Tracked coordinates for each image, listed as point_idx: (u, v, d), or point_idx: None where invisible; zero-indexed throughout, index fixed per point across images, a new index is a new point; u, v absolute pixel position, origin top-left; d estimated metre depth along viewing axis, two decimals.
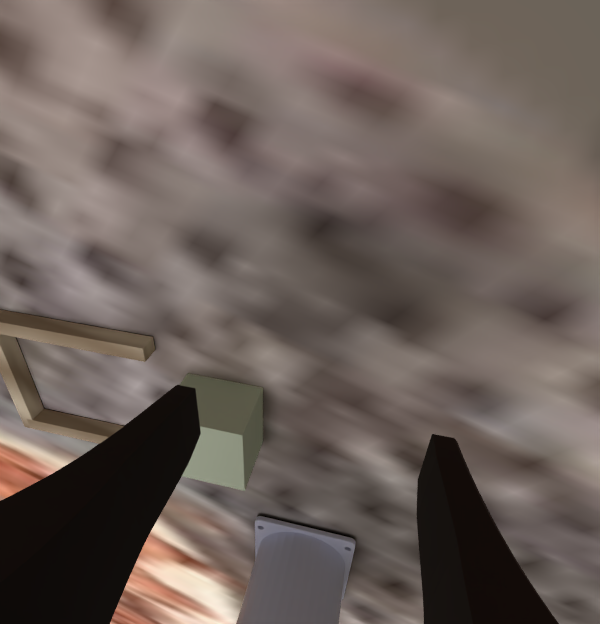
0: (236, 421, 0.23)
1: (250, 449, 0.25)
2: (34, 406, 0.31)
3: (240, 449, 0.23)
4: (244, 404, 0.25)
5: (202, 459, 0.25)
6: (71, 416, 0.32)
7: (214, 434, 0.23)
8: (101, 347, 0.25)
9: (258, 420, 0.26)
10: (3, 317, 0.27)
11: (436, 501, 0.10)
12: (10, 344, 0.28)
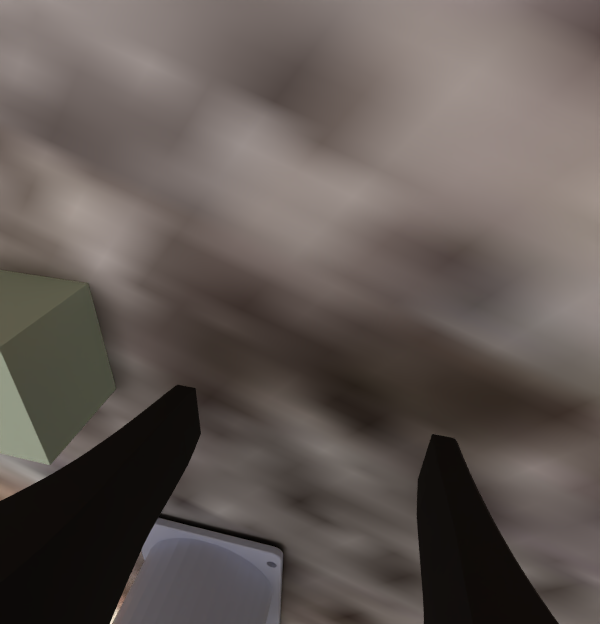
0: (2, 327, 0.12)
1: (57, 389, 0.14)
2: None
3: (10, 381, 0.12)
4: (38, 304, 0.13)
5: None
6: None
7: None
8: None
9: (83, 342, 0.15)
10: None
11: (436, 501, 0.10)
12: None
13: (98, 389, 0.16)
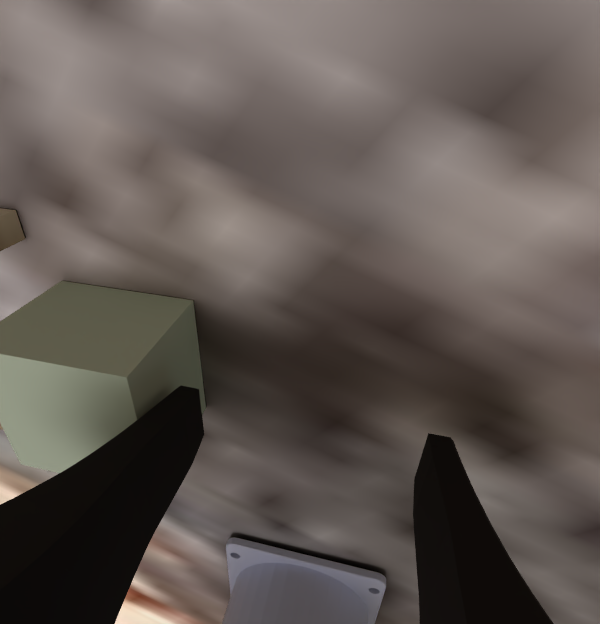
0: (121, 354, 0.11)
1: None
2: None
3: (131, 411, 0.11)
4: (149, 326, 0.13)
5: (67, 436, 0.13)
6: None
7: (74, 380, 0.11)
8: None
9: (184, 364, 0.14)
10: None
11: (432, 500, 0.10)
12: None
13: None
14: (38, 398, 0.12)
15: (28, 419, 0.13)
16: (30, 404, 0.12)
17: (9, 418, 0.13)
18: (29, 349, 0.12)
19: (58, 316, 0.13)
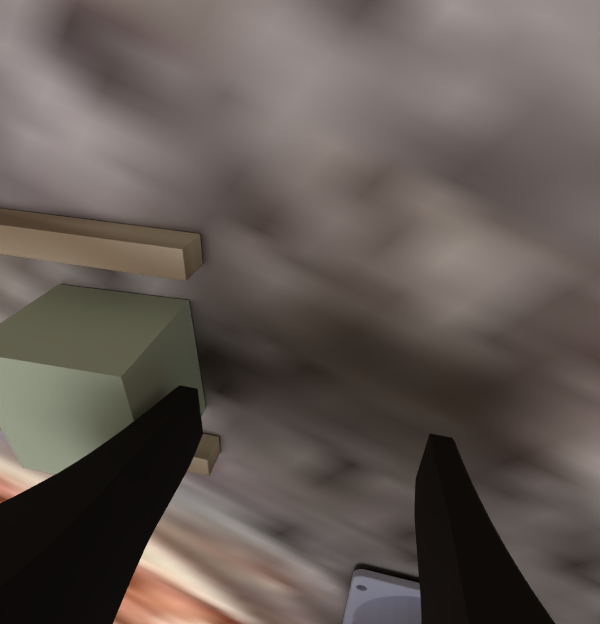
0: (116, 354, 0.12)
1: None
2: None
3: (127, 411, 0.11)
4: (144, 326, 0.13)
5: (66, 437, 0.13)
6: None
7: (70, 380, 0.11)
8: (95, 253, 0.12)
9: (182, 364, 0.14)
10: None
11: (434, 501, 0.10)
12: None
13: None
14: (36, 399, 0.12)
15: (27, 422, 0.13)
16: (27, 406, 0.12)
17: (8, 421, 0.13)
18: (25, 351, 0.12)
19: (55, 319, 0.13)
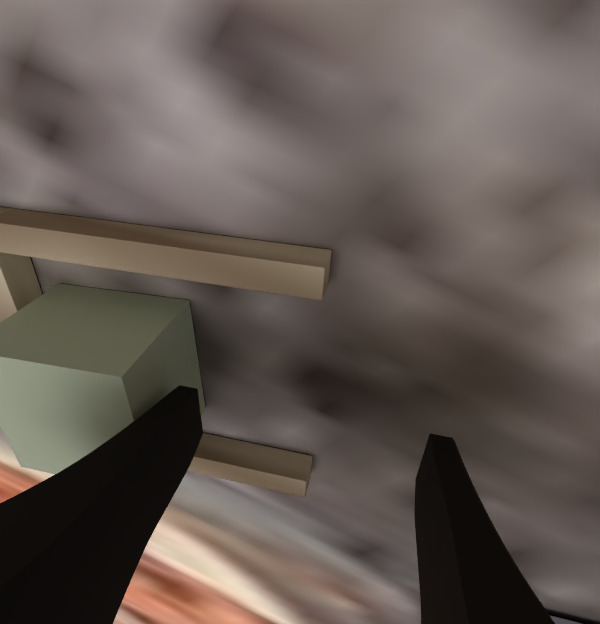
0: (117, 354, 0.12)
1: None
2: None
3: (127, 411, 0.11)
4: (145, 326, 0.13)
5: (65, 437, 0.13)
6: None
7: (70, 380, 0.11)
8: (224, 270, 0.12)
9: (182, 364, 0.14)
10: (11, 217, 0.13)
11: (434, 501, 0.10)
12: (24, 280, 0.14)
13: None
14: (36, 399, 0.12)
15: (27, 421, 0.13)
16: (27, 405, 0.12)
17: (8, 420, 0.13)
18: (25, 351, 0.12)
19: (55, 318, 0.13)
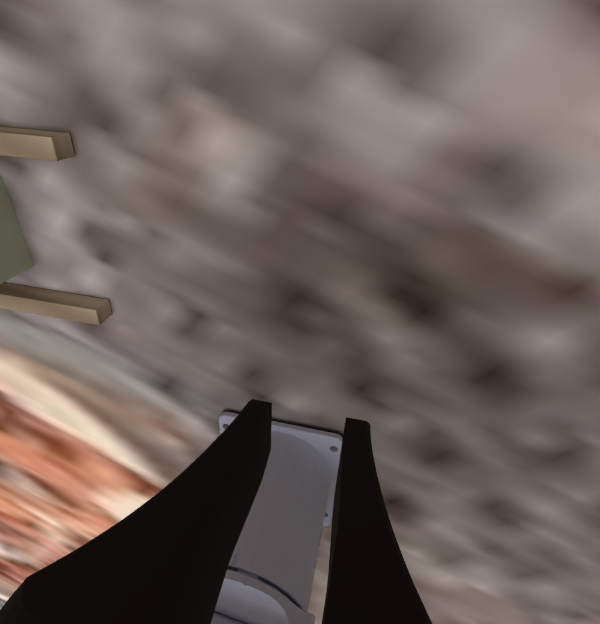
0: None
1: None
2: None
3: None
4: None
5: None
6: None
7: None
8: None
9: None
10: None
11: (339, 480, 0.10)
12: None
13: (16, 259, 0.23)
14: None
15: None
16: None
17: None
18: None
19: None
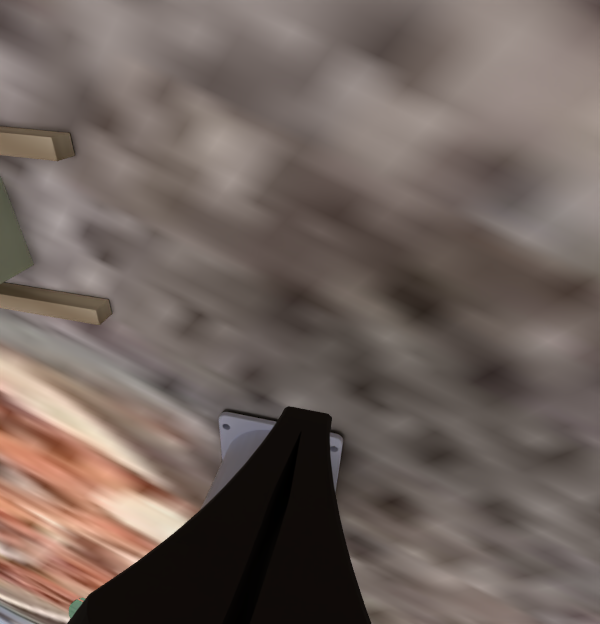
0: None
1: None
2: None
3: None
4: None
5: None
6: None
7: None
8: None
9: None
10: None
11: None
12: None
13: (16, 258, 0.23)
14: None
15: None
16: None
17: None
18: None
19: None
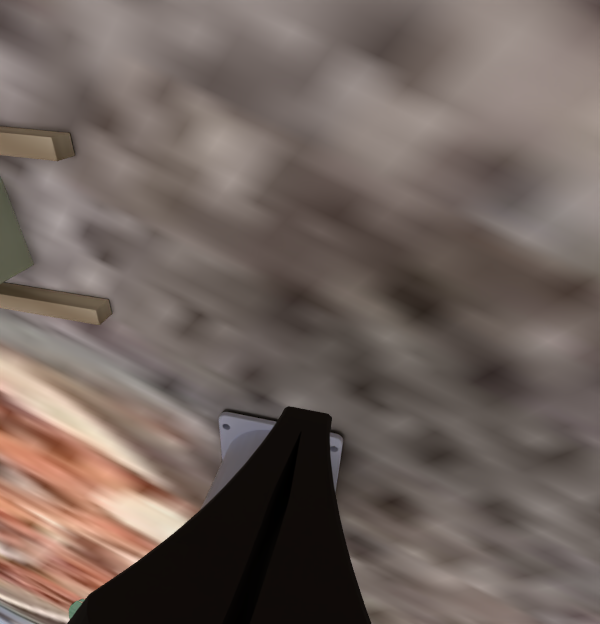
0: None
1: None
2: None
3: None
4: None
5: None
6: None
7: None
8: None
9: None
10: None
11: None
12: None
13: (16, 258, 0.23)
14: None
15: None
16: None
17: None
18: None
19: None
